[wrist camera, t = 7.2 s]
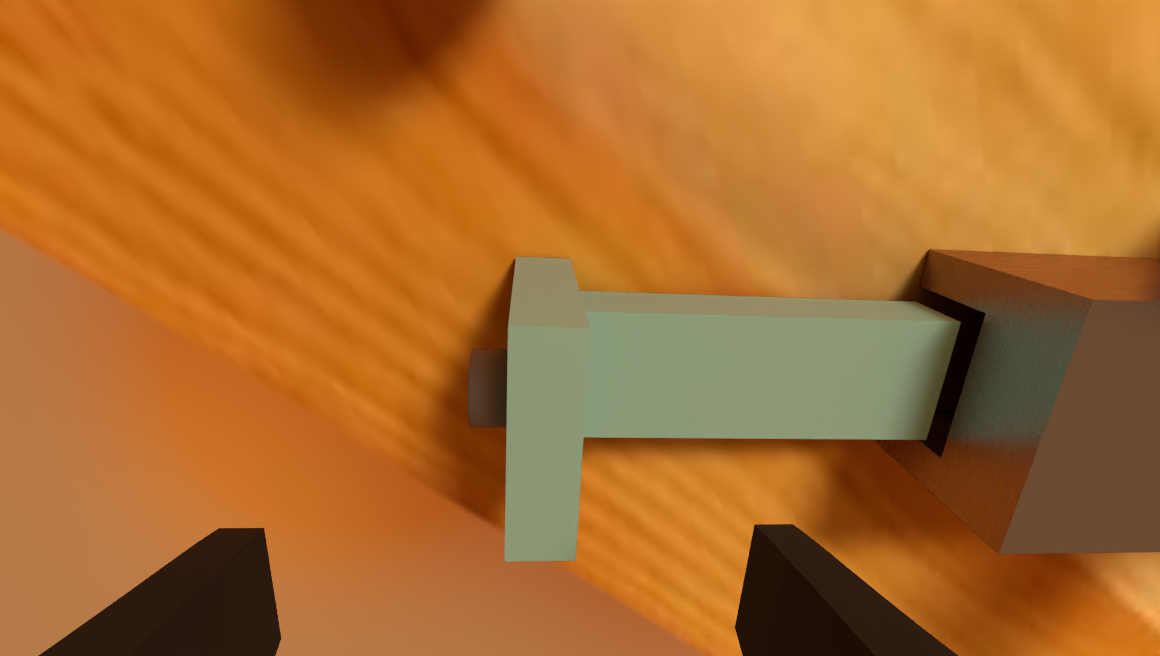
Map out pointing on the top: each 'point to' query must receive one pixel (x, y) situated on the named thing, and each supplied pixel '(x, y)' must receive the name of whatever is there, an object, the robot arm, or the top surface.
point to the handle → (687, 380)
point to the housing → (1050, 404)
